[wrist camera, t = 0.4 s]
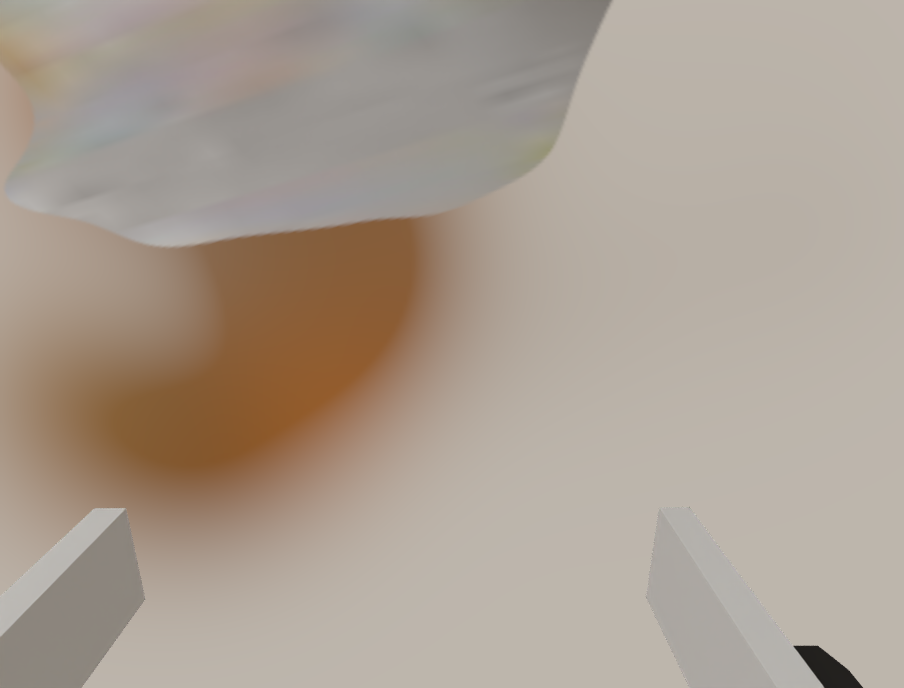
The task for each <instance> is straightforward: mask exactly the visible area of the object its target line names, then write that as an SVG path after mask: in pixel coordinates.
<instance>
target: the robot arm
mask: <svg viewBox="0 0 904 688" xmlns="http://www.w3.org/2000/svg"><path fill="white" fill-rule="evenodd" d="M646 598H647V600H648V602H649V604H650V606H651V608H652V611H653V613H654V615H655V617H656V619H657V621H658V623H659V625H660V627H661V629H662V632H663V634H664V636H665V638H666V640H667V642H668V644H669V646H670V648H671V650H672V652H673V654H674V657H675V658H676V661H677V663H678V665H679V667H680V669H681V671H682V673H683V675H684V677H685V679H686V682H687V684H688V686H689V688H863V687H862V686H861V685H860V683H859V682H858V681H857V680H856V679H855V677H854V676H853V675H852V674H851V672H850V671H849V670H848V669H847V668H845V667H844V666H843V665H841V664H840V663H839V662H838V661H837V660H835V659H834V658H833V657H831V656H830V655H829V654H828V653H826V652H825V651H824V650H823V649H821V648H820V647H819V646H793V645H792V644H791V642H790V641H789V640H788V638H787V637H786V636H785V634H784V633H783V632H782V630H781V629H780V628H779V626H778V625H777V624H776V622H775V621H774V620H773V618H772V617H771V616H770V614H769V613H768V612H767V610H766V609H765V608H764V606H763V605H762V604H761V602H760V601H759V600H758V598H757V597H756V596H755V594H754V593H753V592H752V590H751V589H750V587H749V586H748V585H747V583H746V582H745V581H744V579H743V578H742V577H741V575H740V574H739V573H738V572H737V570H736V569H735V567H734V566H733V565H732V563H731V562H730V561H729V559H728V558H727V557H726V555H725V554H724V553H723V551H722V550H721V549H720V547H719V546H718V545H717V543H716V542H715V541H714V539H713V538H712V537H711V535H710V534H709V533H708V531H707V530H706V528H705V527H704V526H703V524H702V523H701V522H700V520H699V519H698V518H697V516H696V515H695V514H694V512H693V511H692V510H691V508H690V507H686V508H684V507H683V508H682V507H681V508H680V507H675V508H659V512H658V519H657V526H656V533H655V539H654V547H653V553H652V560H651V567H650V574H649V581H648V588H647V595H646ZM144 600H145V596H144V592H143V587H142V582H141V577H140V572H139V568H138V563H137V558H136V553H135V549H134V545H133V539H132V535H131V530H130V525H129V520H128V515H127V511H126V508H112V509H111V508H103V509H102V508H95V509H94V510H92V511H91V512H90V513H89V514H88V515H87V516H86V517H85V518H84V519H83V520H82V521H81V522H79V524H77V525H76V526H75V527H74V528H73V529H72V530H71V531H70V532H69V533H68V534H67V535H65V536H64V537H63V538H62V539H61V540H60V541H59V542H58V543H57V544H56V545H55V546H54V547H53V548H51V550H49V551H48V552H47V553H46V554H45V555H44V556H43V557H42V558H41V559H40V560H39V561H38V562H36V563H35V564H34V565H33V566H32V567H31V568H30V569H29V570H28V571H27V572H26V573H25V574H24V575H22V576H21V578H19V579H18V580H17V581H16V582H15V583H14V584H13V585H12V586H11V587H10V588H9V589H7V590H6V592H4V593H3V594H2V595H1V596H0V688H82V686H83V685H84V683H85V682H86V681H87V679H88V678H89V677H90V675H91V674H92V672H93V671H94V670H95V668H96V667H97V666H98V664H99V663H100V661H101V660H102V658H103V657H104V656H105V654H106V653H107V652H108V650H109V649H110V648H111V646H112V645H113V643H114V642H115V641H116V639H117V638H118V636H119V635H120V634H121V632H122V631H123V629H124V628H125V627H126V625H127V624H128V622H129V621H130V620H131V618H132V617H133V616H134V614H135V613H136V611H137V610H138V609H139V607H140V606H141V604H142V603H143V602H144Z"/></svg>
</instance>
